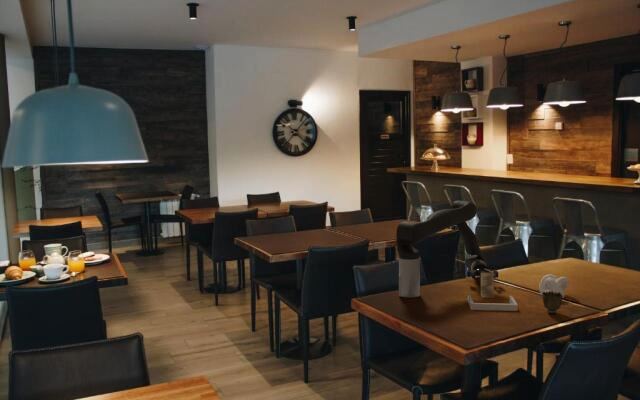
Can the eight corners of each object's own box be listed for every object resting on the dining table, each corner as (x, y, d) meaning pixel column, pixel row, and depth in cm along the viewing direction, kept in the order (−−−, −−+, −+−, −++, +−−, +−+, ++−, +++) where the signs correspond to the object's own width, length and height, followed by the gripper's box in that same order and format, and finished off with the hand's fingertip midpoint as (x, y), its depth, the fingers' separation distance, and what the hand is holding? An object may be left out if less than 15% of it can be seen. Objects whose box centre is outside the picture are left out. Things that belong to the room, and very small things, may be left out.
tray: (470, 309, 236) (470, 303, 235) (467, 300, 248) (467, 295, 248) (517, 310, 233) (517, 304, 233) (511, 301, 246) (512, 295, 245)
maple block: (482, 297, 253) (482, 275, 252) (480, 294, 258) (480, 272, 257) (493, 297, 252) (494, 275, 251) (492, 294, 257) (492, 272, 256)
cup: (563, 316, 225) (564, 296, 224) (543, 315, 226) (544, 295, 225) (559, 310, 232) (560, 291, 231) (540, 309, 233) (541, 290, 232)
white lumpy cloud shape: (534, 296, 252) (534, 276, 251) (544, 291, 261) (545, 271, 260) (560, 301, 244) (560, 280, 243) (570, 295, 253) (571, 275, 252)
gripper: (464, 261, 281) (468, 269, 265) (494, 261, 279) (500, 269, 263) (464, 276, 281) (468, 284, 266) (494, 276, 279) (500, 285, 263)
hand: (484, 277), depth 264 cm, fingers open, 8 cm apart
